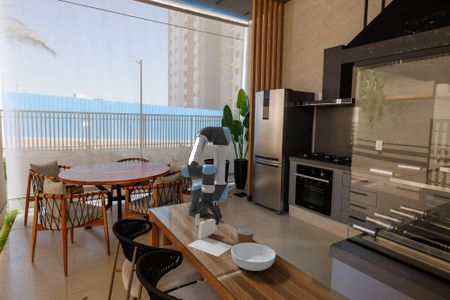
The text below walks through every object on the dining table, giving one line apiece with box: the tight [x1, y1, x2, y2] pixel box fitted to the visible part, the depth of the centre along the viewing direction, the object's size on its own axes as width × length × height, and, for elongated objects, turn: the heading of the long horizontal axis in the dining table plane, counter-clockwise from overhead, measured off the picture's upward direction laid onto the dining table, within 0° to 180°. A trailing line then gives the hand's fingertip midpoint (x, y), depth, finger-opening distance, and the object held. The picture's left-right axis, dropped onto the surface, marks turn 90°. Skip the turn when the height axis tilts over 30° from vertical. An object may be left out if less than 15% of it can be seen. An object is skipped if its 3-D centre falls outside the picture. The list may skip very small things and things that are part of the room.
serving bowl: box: [230, 242, 276, 272], centre depth 128 cm, size 21×21×7 cm
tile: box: [197, 218, 215, 240], centre depth 158 cm, size 12×2×9 cm, turn 147°
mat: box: [187, 237, 234, 258], centre depth 145 cm, size 15×20×1 cm
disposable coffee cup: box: [236, 224, 256, 244], centre depth 144 cm, size 10×10×12 cm
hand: (206, 227), depth 158 cm, fingers open, 13 cm apart
